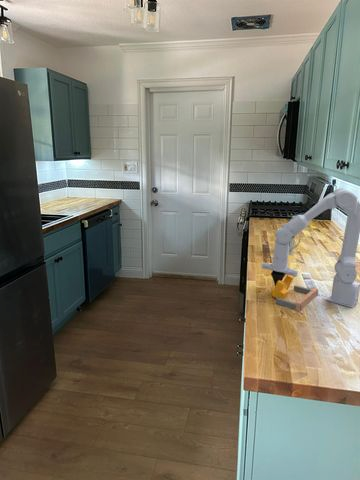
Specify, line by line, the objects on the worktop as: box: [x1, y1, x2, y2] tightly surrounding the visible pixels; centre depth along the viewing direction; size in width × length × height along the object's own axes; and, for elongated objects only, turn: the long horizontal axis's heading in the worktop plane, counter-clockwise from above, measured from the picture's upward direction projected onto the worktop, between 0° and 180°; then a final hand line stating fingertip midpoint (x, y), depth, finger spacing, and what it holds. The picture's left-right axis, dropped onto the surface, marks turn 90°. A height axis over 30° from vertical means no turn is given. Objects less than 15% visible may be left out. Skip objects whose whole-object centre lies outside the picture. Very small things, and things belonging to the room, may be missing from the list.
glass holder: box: [281, 225, 302, 256], centre depth 191 cm, size 9×14×15 cm, turn 25°
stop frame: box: [275, 284, 319, 312], centre depth 134 cm, size 10×19×3 cm, turn 139°
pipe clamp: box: [271, 274, 295, 300], centre depth 137 cm, size 12×4×6 cm, turn 142°
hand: (276, 288), depth 139 cm, fingers closed
